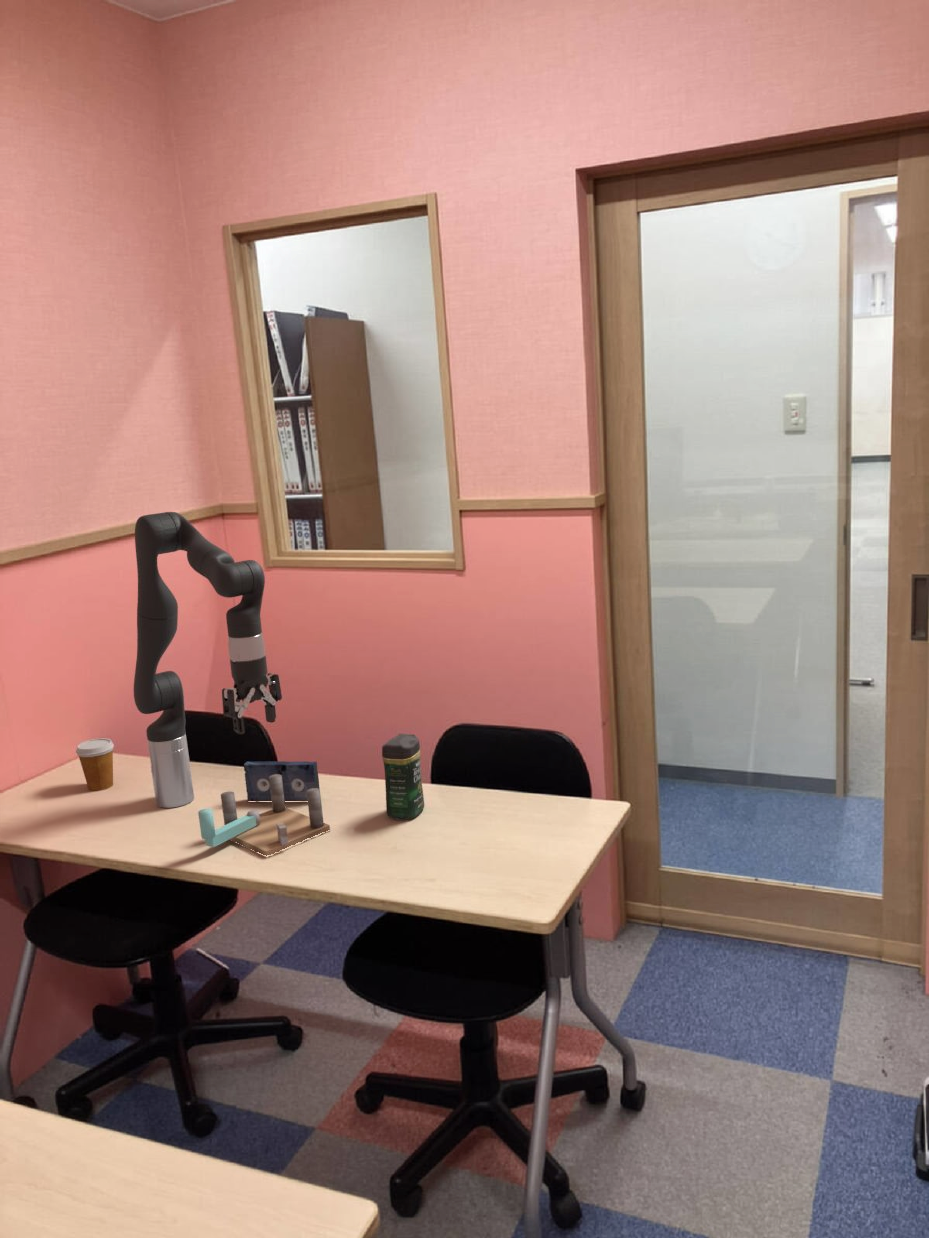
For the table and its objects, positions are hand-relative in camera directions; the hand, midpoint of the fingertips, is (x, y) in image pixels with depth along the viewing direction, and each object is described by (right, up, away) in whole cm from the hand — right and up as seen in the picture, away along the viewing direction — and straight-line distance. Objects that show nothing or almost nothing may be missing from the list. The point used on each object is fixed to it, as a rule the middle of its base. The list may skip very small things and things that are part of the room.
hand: (255, 727), depth 217 cm
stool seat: (+2, -26, +13) cm, 29 cm away
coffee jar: (+31, -22, +19) cm, 43 cm away
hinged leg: (-7, -25, +9) cm, 28 cm away
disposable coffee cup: (-52, -21, +51) cm, 76 cm away
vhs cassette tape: (0, -22, +32) cm, 39 cm away
